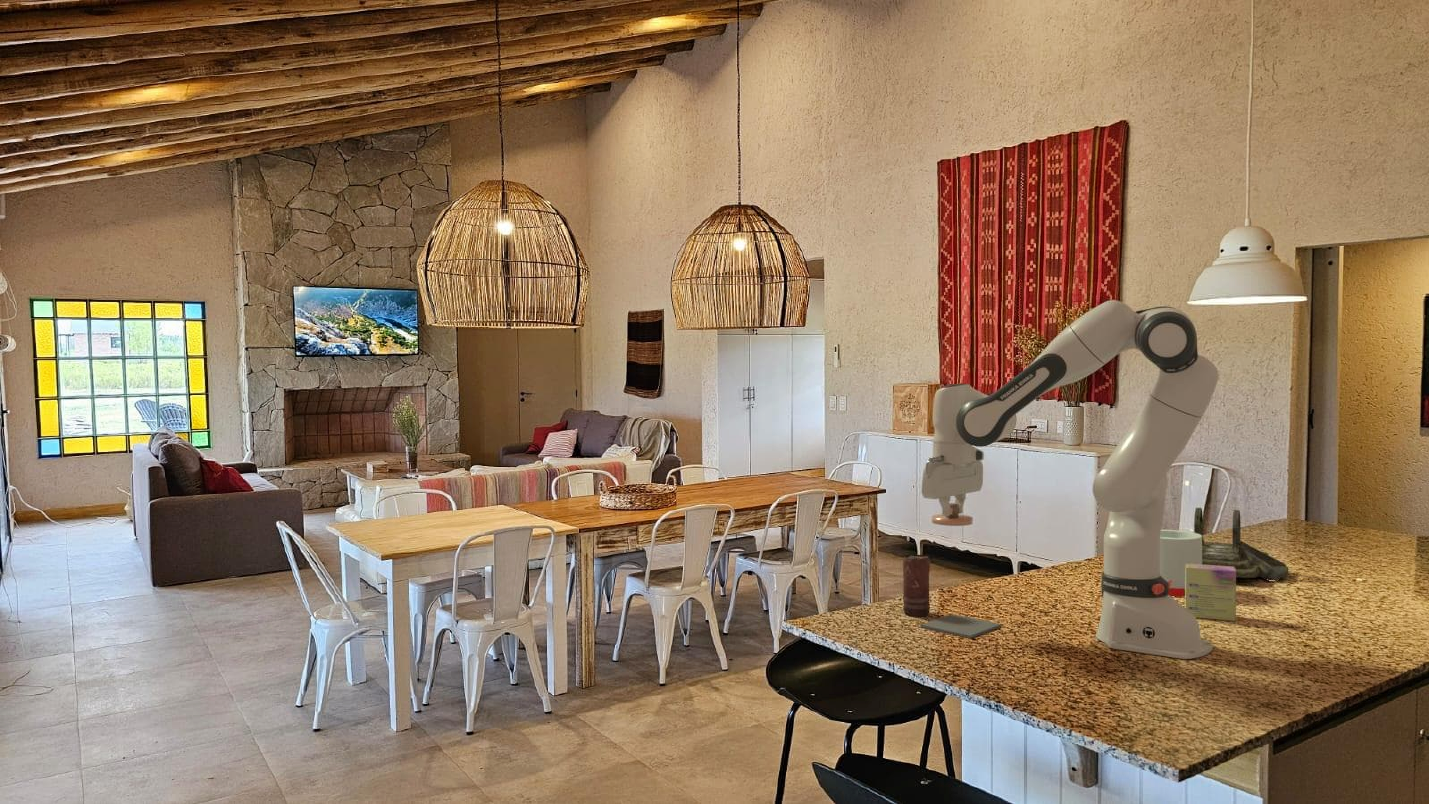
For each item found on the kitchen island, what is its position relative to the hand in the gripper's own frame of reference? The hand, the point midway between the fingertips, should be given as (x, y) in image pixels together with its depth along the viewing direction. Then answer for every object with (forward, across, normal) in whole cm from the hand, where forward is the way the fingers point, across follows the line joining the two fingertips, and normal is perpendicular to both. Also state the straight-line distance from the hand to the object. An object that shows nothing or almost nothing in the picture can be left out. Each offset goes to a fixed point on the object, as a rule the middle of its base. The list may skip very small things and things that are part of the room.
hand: (952, 514), depth 217 cm
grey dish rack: (+26, +100, -24) cm, 106 cm away
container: (+26, +68, -23) cm, 76 cm away
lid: (+2, 0, 0) cm, 2 cm away
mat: (+26, 0, -2) cm, 26 cm away
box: (+25, +47, -40) cm, 66 cm away
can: (+26, +3, +12) cm, 29 cm away
